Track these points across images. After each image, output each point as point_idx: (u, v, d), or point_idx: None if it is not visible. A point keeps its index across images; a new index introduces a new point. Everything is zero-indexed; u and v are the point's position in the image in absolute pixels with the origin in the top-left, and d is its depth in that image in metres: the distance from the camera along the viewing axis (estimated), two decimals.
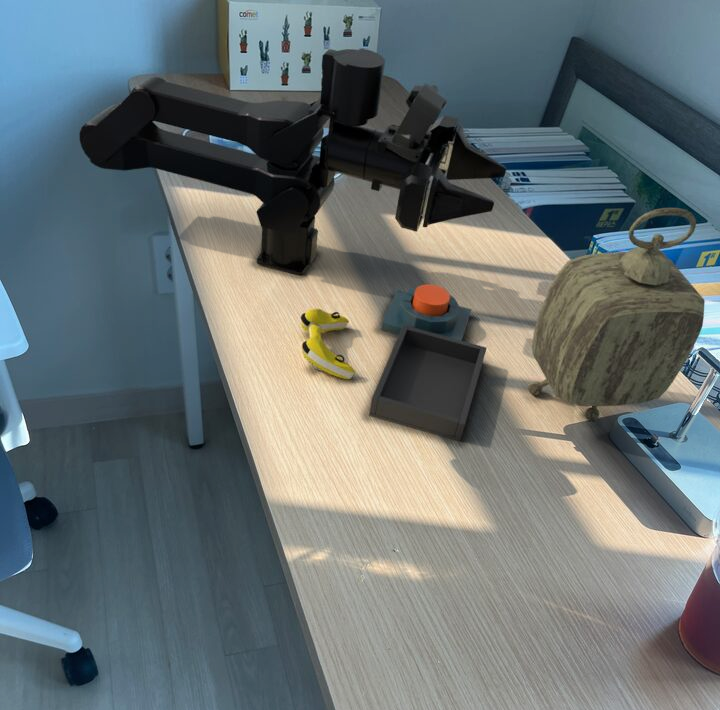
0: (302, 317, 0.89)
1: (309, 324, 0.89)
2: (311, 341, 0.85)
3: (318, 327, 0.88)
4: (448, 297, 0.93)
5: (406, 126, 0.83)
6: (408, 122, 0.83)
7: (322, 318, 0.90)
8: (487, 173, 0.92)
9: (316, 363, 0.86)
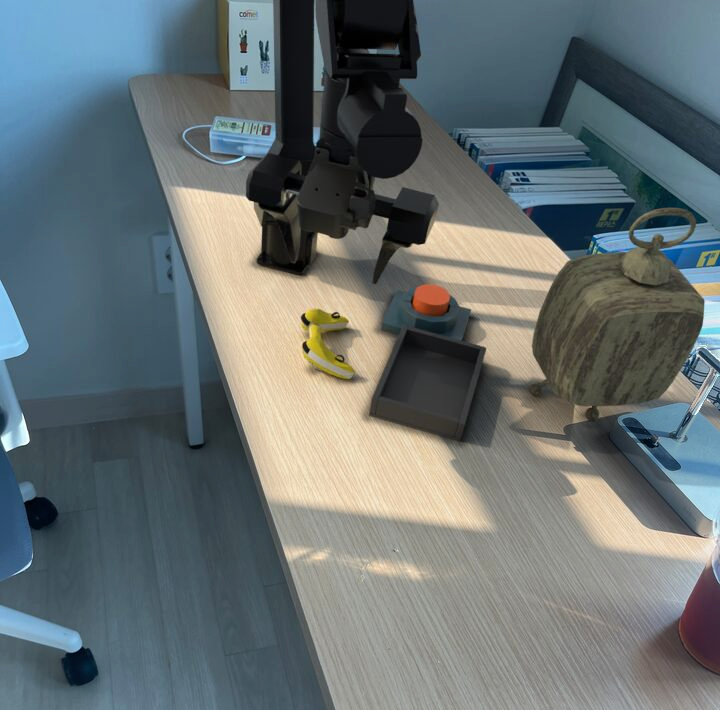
0: (302, 317, 0.89)
1: (309, 324, 0.89)
2: (311, 341, 0.85)
3: (318, 327, 0.88)
4: (448, 297, 0.93)
5: None
6: None
7: (322, 318, 0.90)
8: None
9: (316, 363, 0.86)
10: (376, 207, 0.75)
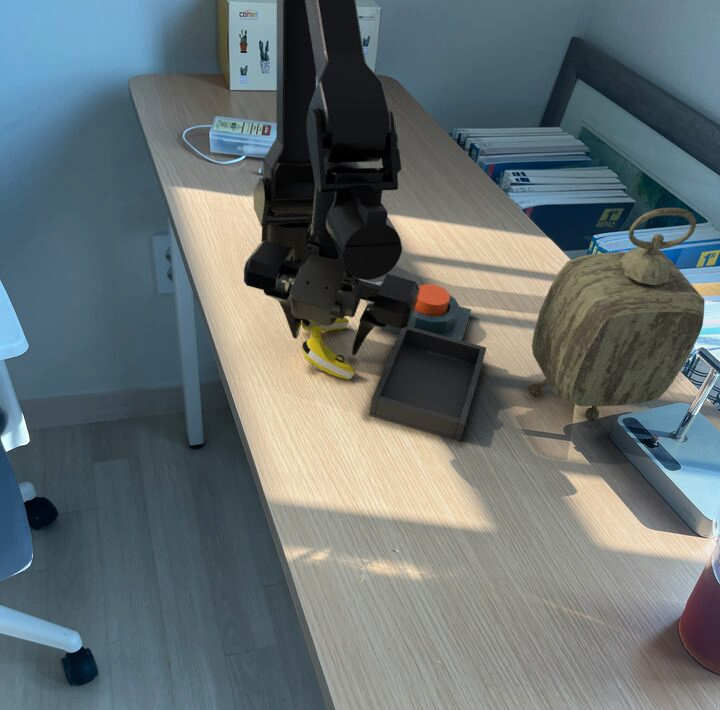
0: None
1: (309, 324, 0.89)
2: (311, 341, 0.85)
3: (318, 327, 0.88)
4: (448, 297, 0.93)
5: None
6: None
7: None
8: None
9: (316, 363, 0.86)
10: (362, 292, 0.82)
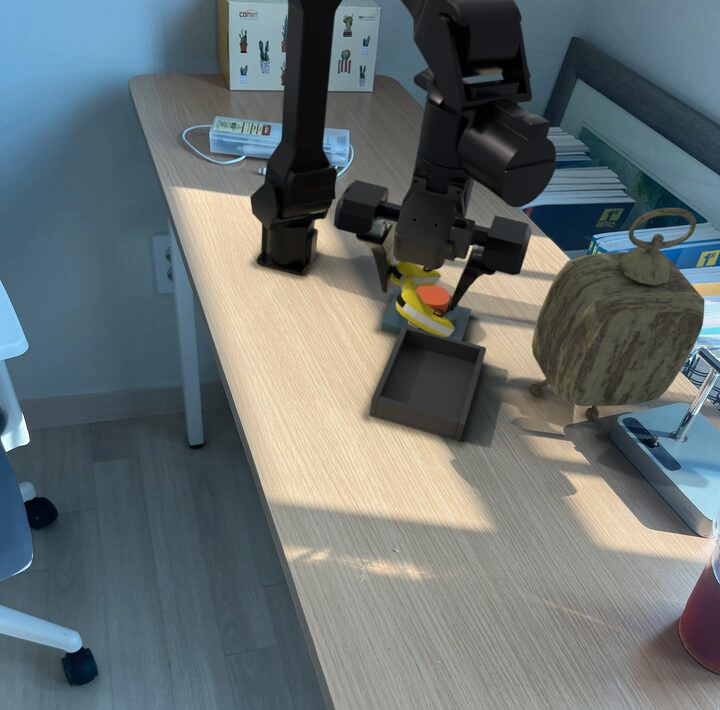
0: (393, 269, 0.80)
1: (401, 277, 0.80)
2: (407, 293, 0.76)
3: (411, 280, 0.79)
4: (448, 297, 0.93)
5: None
6: None
7: (414, 271, 0.80)
8: None
9: (412, 318, 0.76)
10: None
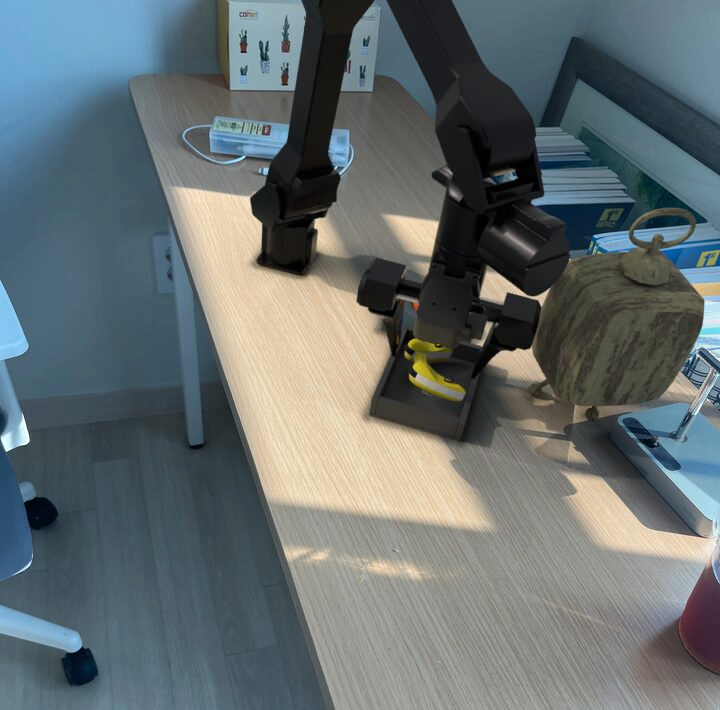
0: (405, 347, 0.87)
1: (413, 353, 0.86)
2: (418, 364, 0.82)
3: (423, 354, 0.86)
4: None
5: None
6: None
7: (426, 347, 0.87)
8: (477, 358, 0.84)
9: (425, 386, 0.82)
10: None
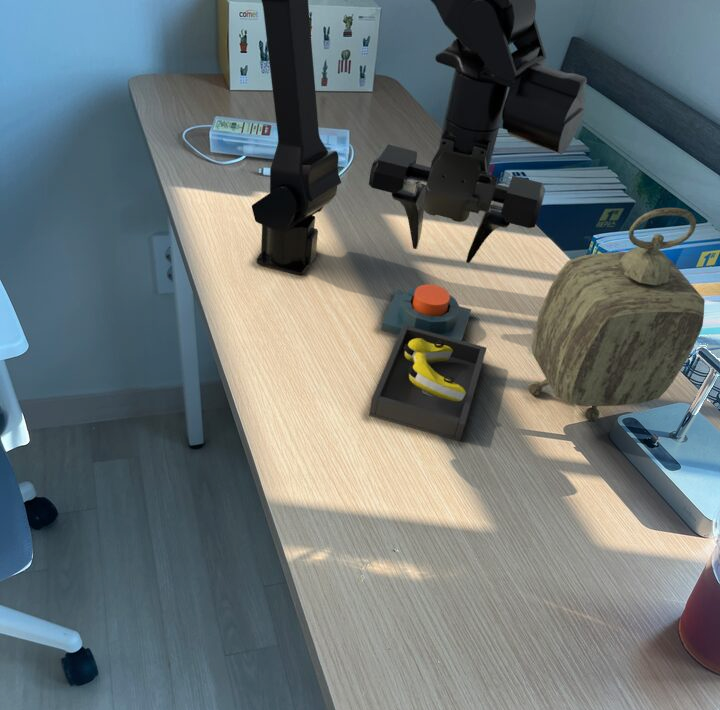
0: (405, 347, 0.87)
1: (413, 353, 0.86)
2: (418, 364, 0.82)
3: (423, 354, 0.86)
4: (448, 297, 0.93)
5: None
6: None
7: (426, 347, 0.87)
8: None
9: (425, 386, 0.82)
10: None
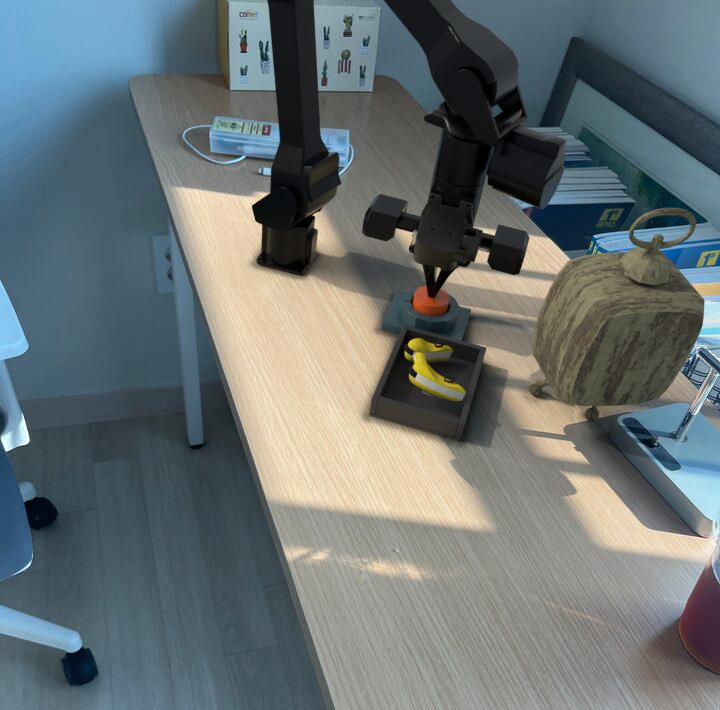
0: (405, 347, 0.87)
1: (413, 353, 0.86)
2: (418, 364, 0.82)
3: (423, 354, 0.86)
4: (448, 299, 0.93)
5: None
6: None
7: (426, 347, 0.87)
8: None
9: (425, 386, 0.82)
10: None
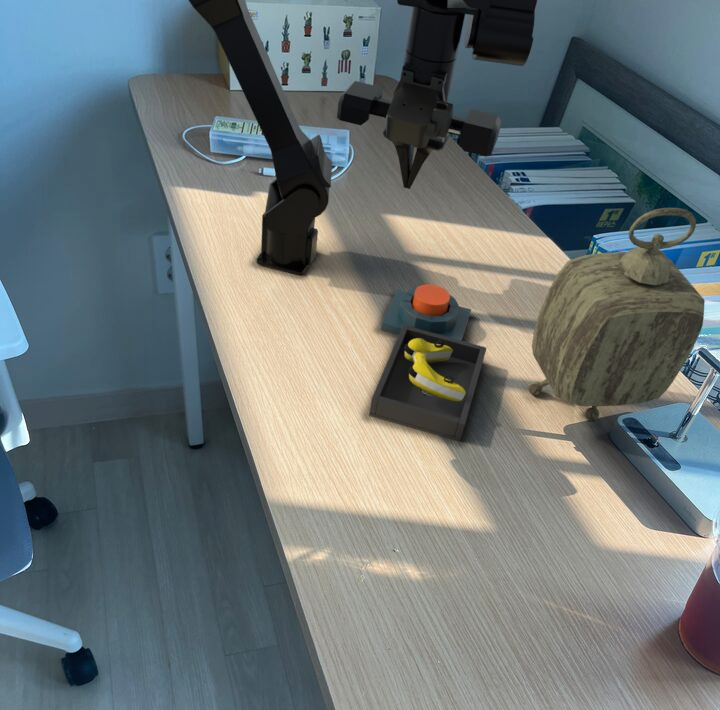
0: (405, 347, 0.87)
1: (413, 353, 0.86)
2: (418, 364, 0.82)
3: (423, 354, 0.86)
4: (448, 297, 0.93)
5: None
6: None
7: (426, 347, 0.87)
8: None
9: (425, 386, 0.82)
10: (449, 125, 0.88)
